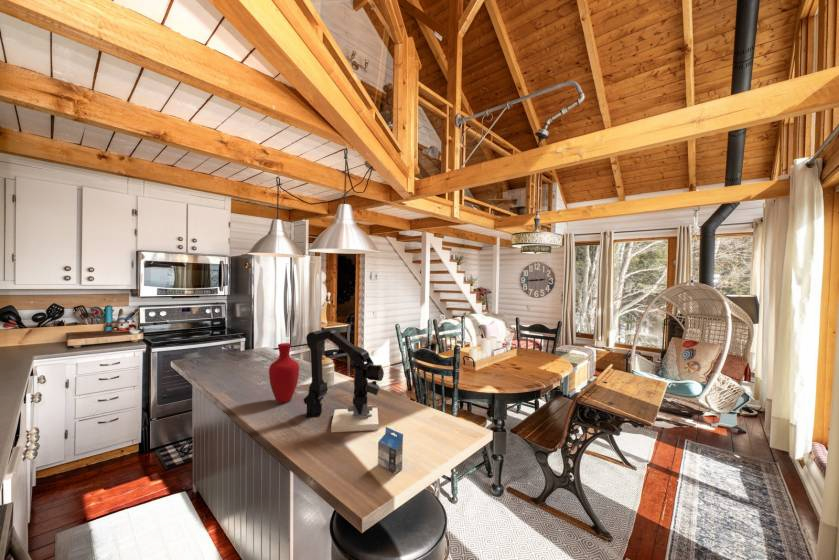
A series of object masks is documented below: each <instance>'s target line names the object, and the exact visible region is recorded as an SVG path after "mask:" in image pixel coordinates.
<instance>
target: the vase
mask: <svg viewBox="0 0 839 560" xmlns="http://www.w3.org/2000/svg"><path fill="white" fill-rule="evenodd" d="M291 346H292V343H289V342H284V343H283V342H281V343H278V344H277V347H278V354H279V356H278V358H277V359H276V360H275V361H273V362H272V363H271V364H270V366H269V370H268V377H269V383H270V388H271V392H272V393H273V396H274V399H275V400H276V402H277V403H279V404H286V403H289V402H290V401H291V400H292V399H293V397H294V394H295V392H296V388H297V385H298V381H299V376H300V365H299V363H298V362H297V361H296V360H294V359H293V358H291V356H290V355H291V354H290V353H291V352H290V351H291V348H292V347H291Z"/></svg>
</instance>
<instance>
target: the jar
mask: <svg viewBox="0 0 839 560" xmlns="http://www.w3.org/2000/svg"><path fill="white" fill-rule="evenodd" d="M322 378H323V381H324V382H325V383H326V382H327V388H329V387H332V386H333V385H334V384H335V363H334V360H333V359H332V358H330V357H326V355H322Z"/></svg>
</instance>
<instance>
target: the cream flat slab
mask: <svg viewBox="0 0 839 560" xmlns="http://www.w3.org/2000/svg"><path fill="white" fill-rule="evenodd" d="M378 413H379V412H378V407H372V411H370V413H369V414H367V416H357V417H353V411H350V412H348V408H340V409H338V408H337V409H334V413H333V417H332V421H331V425H330V426H331V427H330V433H342V432H346V433H347V432H360V431H363V432H364V431H379V414H378Z"/></svg>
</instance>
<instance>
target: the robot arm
mask: <svg viewBox="0 0 839 560" xmlns="http://www.w3.org/2000/svg"><path fill="white" fill-rule="evenodd" d="M325 340H329V341H330V342H332V343H333V344H334V345H335V346H337V347H338V348H339V349H341V350H342V351H343V352H345V353H346V354H347V355H348V357H349V360H350V361H351V362H353V363H352V365H351V366H349V368H350V369H352V370H353V371H354V375H353V376H354V379H353V396H352V404H355V407H356V409H357V411H358V414H359V415H360V414H361V413H362V409H363V405H364V404H367V405H368V396H367V395H368V393H370V394H373V395H374V396H377V395H378V394H379V391H380V385H379V384H377V381H378V382H382V380H383V378H384V376H385V374H384V373H385V372H384V368H383V367H382V364H375V363H374V361H373V360H372V359H371V356H370V353H369V351H368V350H366V349H365V348H363V347H359V346H357V345H354V344H353V343H352V342H351V341H349V340H348V339H346V338H345V337H344V336H342V335H341V334H340V333H339V332H337V330H335V329H328V330H326V331H322V330H315V331H310V332H309V333H308V334H307V335H306V344H307V347H308V348H309V350H310V364H311V365H310V366H311V367H310V368H311V382H310V385H309V387H308V394H307V395H306V396H305V397H304V398H303V403H304V404H305V405H306V415H305V417H306V418H311V417H312V418H313V417H321V414H322V413H323V403H322V400H324V397H325V396H326V395H327V392H328V391H329V389H328V387H327V382H326V383H325V382H324V381H323V378H322V356H323V355H322V349H323V347H324V344H325ZM368 380H370V382H368Z"/></svg>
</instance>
